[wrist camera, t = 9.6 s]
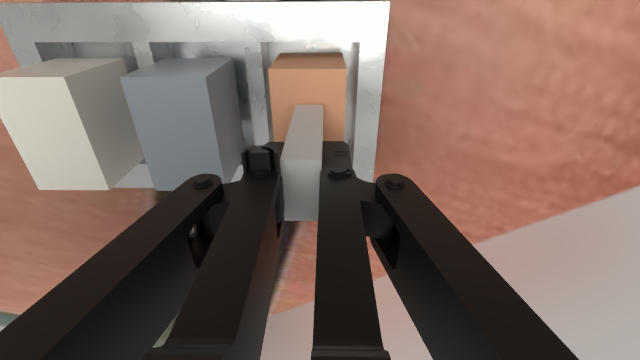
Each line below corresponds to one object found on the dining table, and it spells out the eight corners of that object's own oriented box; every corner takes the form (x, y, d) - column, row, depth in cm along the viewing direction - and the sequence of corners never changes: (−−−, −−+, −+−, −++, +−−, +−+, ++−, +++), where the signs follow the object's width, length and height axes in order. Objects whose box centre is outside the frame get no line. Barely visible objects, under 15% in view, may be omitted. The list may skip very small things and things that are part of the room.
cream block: (94, 151, 22) (39, 189, 18) (57, 58, 19) (-22, 77, 15) (151, 151, 22) (109, 190, 18) (123, 58, 19) (63, 77, 15)
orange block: (285, 141, 24) (276, 174, 19) (280, 53, 20) (268, 68, 16) (339, 141, 24) (342, 175, 19) (342, 52, 20) (346, 68, 16)
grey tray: (107, 162, 27) (76, 187, 24) (45, 1, 21) (-10, 3, 18) (366, 163, 27) (372, 189, 23) (379, 0, 21) (389, 1, 17)
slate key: (188, 152, 22) (155, 190, 18) (166, 58, 19) (119, 77, 15) (245, 152, 22) (226, 190, 18) (232, 58, 19) (205, 77, 15)
